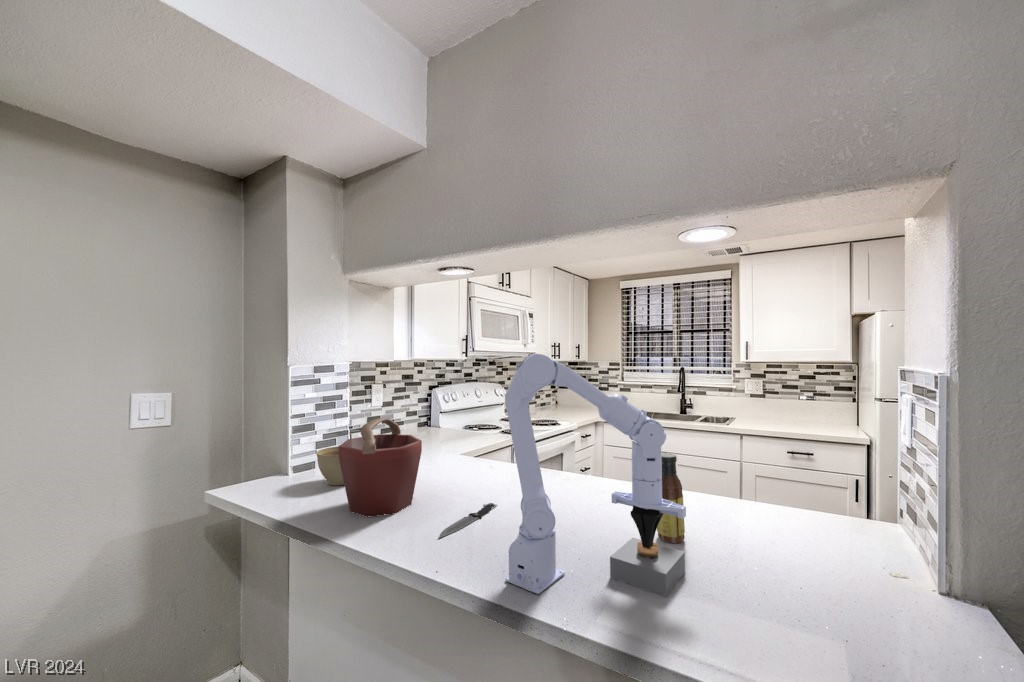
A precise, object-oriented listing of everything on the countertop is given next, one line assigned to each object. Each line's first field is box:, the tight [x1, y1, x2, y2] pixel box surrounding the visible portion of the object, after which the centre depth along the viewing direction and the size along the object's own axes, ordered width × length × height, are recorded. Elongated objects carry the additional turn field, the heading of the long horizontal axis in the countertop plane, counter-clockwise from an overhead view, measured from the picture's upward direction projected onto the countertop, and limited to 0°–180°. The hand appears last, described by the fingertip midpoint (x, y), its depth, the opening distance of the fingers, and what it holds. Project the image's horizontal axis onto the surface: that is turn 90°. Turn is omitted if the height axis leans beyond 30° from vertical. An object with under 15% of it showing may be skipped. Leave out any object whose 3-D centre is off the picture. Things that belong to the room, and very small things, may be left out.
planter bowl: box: [316, 445, 345, 486], centre depth 150 cm, size 16×16×11 cm
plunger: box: [637, 541, 659, 559], centre depth 87 cm, size 4×4×6 cm
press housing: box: [609, 537, 686, 597], centre depth 87 cm, size 11×11×4 cm
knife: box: [438, 502, 498, 539], centre depth 115 cm, size 26×1×5 cm
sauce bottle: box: [656, 452, 686, 544], centre depth 103 cm, size 6×6×20 cm
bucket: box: [338, 417, 423, 518], centre depth 127 cm, size 24×22×25 cm
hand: (647, 545), depth 87 cm, fingers closed, pressing on plunger
